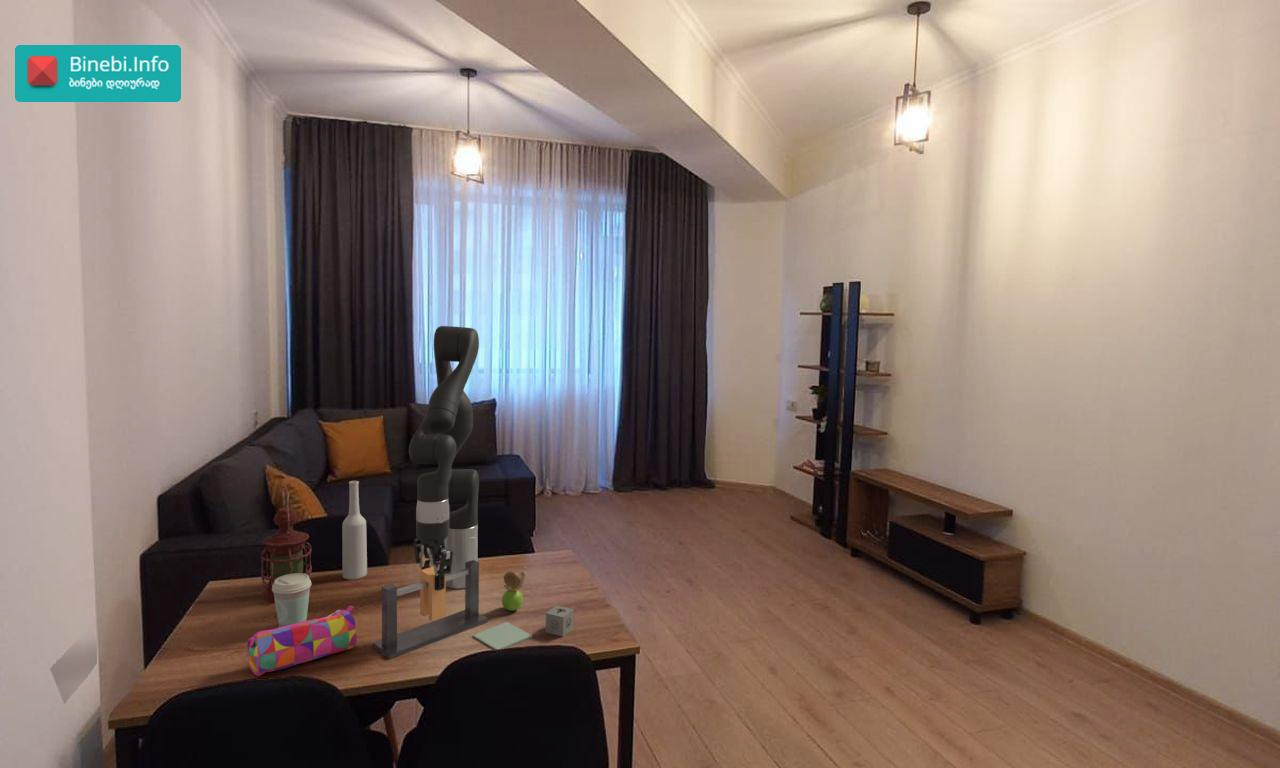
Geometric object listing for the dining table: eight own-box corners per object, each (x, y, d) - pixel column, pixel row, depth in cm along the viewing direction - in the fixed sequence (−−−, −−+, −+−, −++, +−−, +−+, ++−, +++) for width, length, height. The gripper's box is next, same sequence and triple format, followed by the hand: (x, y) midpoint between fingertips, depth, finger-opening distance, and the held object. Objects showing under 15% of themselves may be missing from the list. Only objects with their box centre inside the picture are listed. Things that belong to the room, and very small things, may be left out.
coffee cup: (274, 621, 163) (273, 574, 162) (313, 616, 166) (312, 570, 165) (270, 637, 155) (269, 588, 154) (311, 631, 158) (310, 583, 157)
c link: (420, 614, 159) (420, 570, 158) (433, 609, 162) (433, 566, 161) (432, 621, 156) (432, 576, 154) (445, 616, 158) (445, 572, 157)
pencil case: (345, 636, 157) (345, 599, 156) (362, 650, 151) (362, 612, 150) (243, 669, 141) (241, 628, 140) (257, 686, 135) (256, 644, 134)
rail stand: (372, 646, 152) (372, 583, 151) (469, 612, 171) (469, 556, 170) (389, 659, 147) (389, 594, 145) (487, 622, 166) (488, 564, 165)
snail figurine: (521, 615, 170) (522, 570, 169) (498, 612, 171) (498, 568, 170) (529, 607, 175) (529, 563, 174) (506, 604, 177) (507, 561, 176)
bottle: (350, 570, 197) (349, 478, 194) (371, 571, 196) (370, 479, 193) (337, 578, 190) (336, 483, 188) (359, 580, 189) (358, 485, 187)
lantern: (316, 597, 177) (314, 488, 174) (265, 608, 170) (262, 494, 167) (307, 582, 187) (305, 479, 184) (258, 592, 180) (255, 484, 177)
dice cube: (573, 628, 164) (573, 609, 164) (563, 637, 160) (563, 617, 159) (556, 624, 166) (556, 605, 166) (545, 632, 162) (545, 613, 161)
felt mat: (473, 636, 158) (473, 635, 158) (507, 623, 166) (507, 621, 166) (497, 651, 152) (497, 649, 152) (532, 636, 159) (532, 635, 159)
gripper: (402, 513, 158) (403, 581, 160) (434, 527, 149) (434, 599, 150) (431, 507, 164) (431, 573, 165) (463, 520, 154) (463, 590, 156)
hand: (432, 585), depth 158 cm, fingers closed on c link, 5 cm apart
